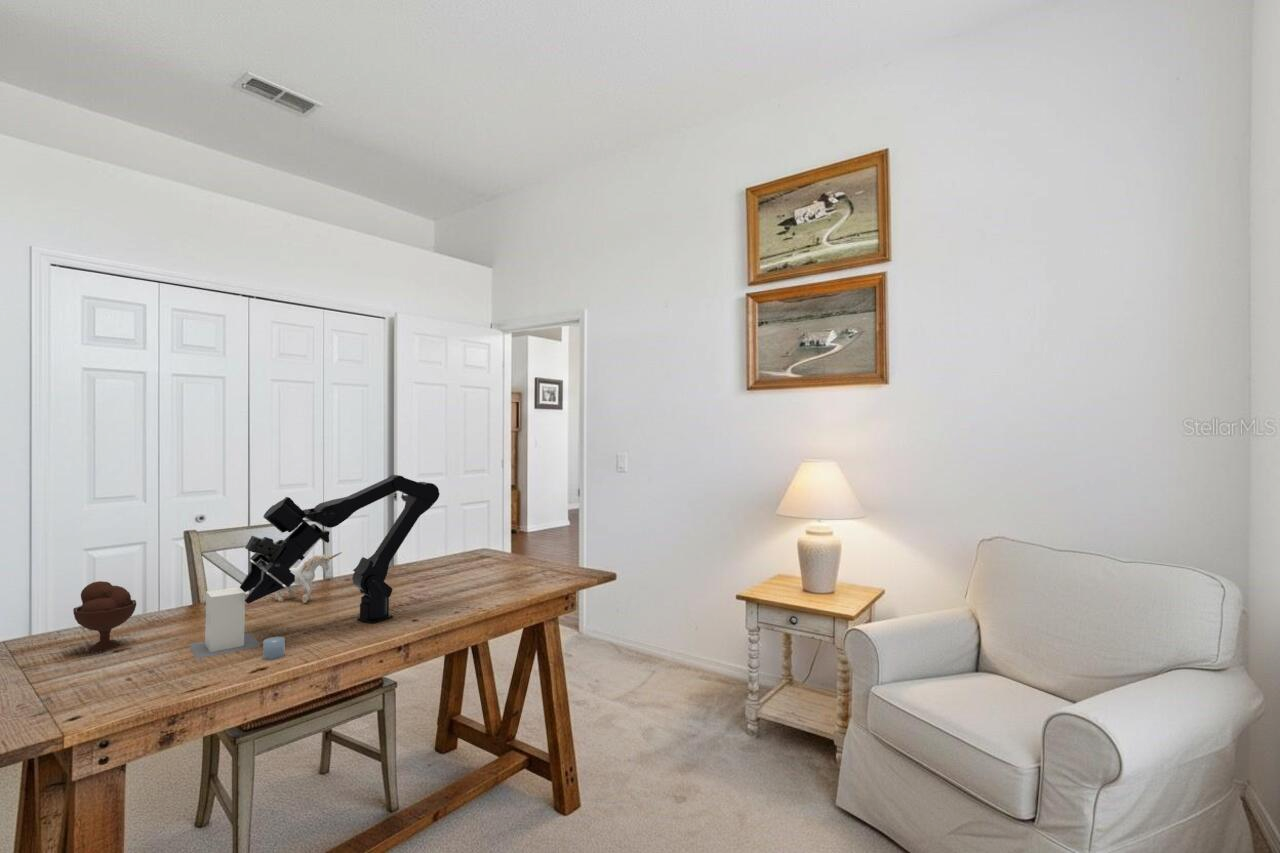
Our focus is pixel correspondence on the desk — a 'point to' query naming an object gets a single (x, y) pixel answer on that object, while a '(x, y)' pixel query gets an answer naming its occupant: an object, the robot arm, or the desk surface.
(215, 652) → the mat
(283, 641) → the light blue cylinder
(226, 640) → the rectangular block
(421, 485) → the robot arm
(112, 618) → the ice cream bowl
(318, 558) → the unicorn figurine
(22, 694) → the desk surface
